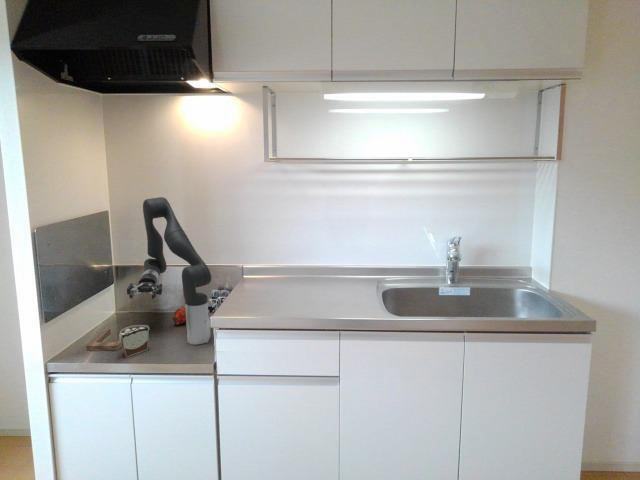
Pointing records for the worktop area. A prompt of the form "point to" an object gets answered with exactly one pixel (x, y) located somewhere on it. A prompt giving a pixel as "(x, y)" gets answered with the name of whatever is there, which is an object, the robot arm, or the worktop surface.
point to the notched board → (103, 343)
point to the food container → (134, 339)
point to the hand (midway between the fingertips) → (142, 297)
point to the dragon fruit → (180, 316)
